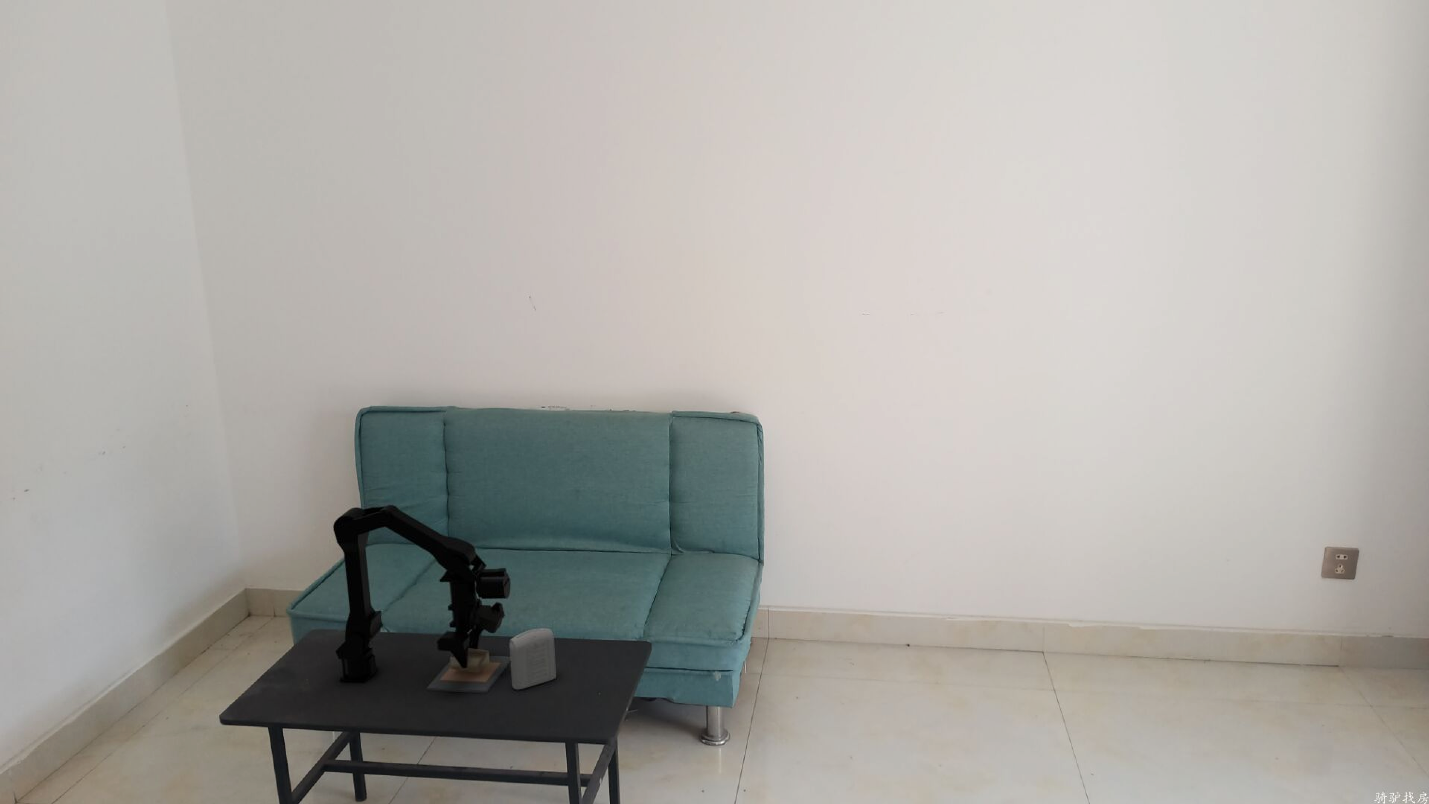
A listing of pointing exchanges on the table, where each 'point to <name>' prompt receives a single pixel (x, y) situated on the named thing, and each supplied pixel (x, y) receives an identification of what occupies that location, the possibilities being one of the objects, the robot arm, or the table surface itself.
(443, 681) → the rubber mat
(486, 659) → the tan beveled box
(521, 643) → the grey rounded block
